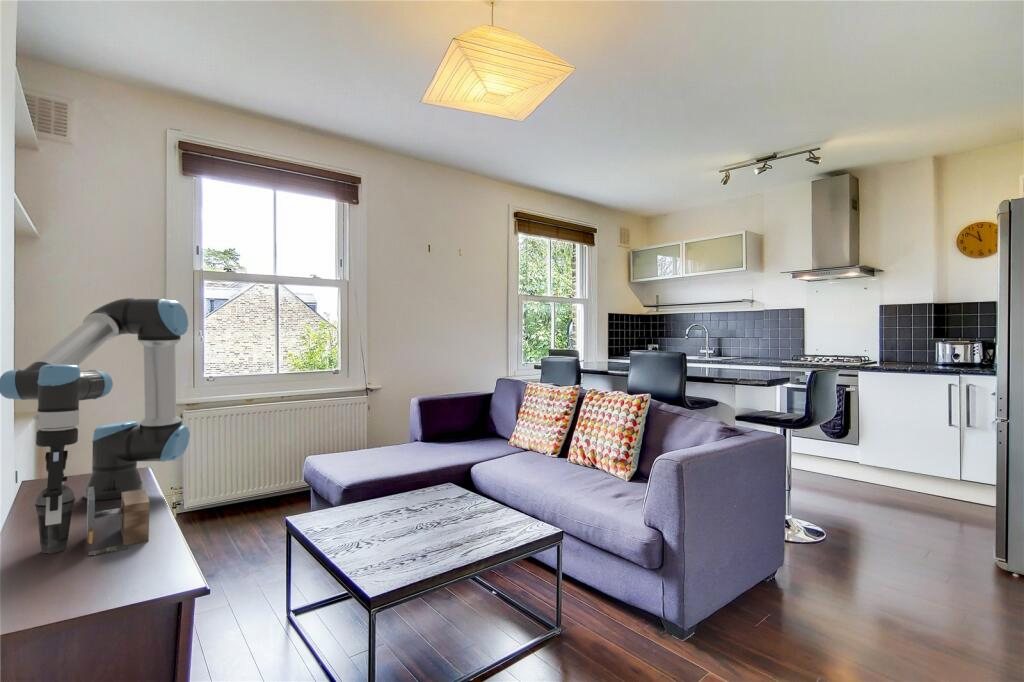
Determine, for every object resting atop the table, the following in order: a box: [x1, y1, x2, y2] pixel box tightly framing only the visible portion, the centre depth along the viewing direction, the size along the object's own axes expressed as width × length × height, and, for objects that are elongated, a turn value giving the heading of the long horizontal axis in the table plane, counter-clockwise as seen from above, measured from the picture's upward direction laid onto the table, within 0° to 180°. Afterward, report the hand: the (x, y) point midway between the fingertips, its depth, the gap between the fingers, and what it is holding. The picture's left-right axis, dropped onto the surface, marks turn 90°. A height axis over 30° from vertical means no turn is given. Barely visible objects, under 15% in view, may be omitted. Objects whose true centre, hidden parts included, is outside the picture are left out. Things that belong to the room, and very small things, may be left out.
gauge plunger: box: [86, 486, 123, 545], centre depth 128 cm, size 10×16×10 cm, turn 41°
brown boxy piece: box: [88, 488, 151, 557], centre depth 128 cm, size 12×17×10 cm
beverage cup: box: [34, 484, 76, 554], centre depth 122 cm, size 7×7×20 cm
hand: (54, 516), depth 121 cm, fingers open, 13 cm apart
